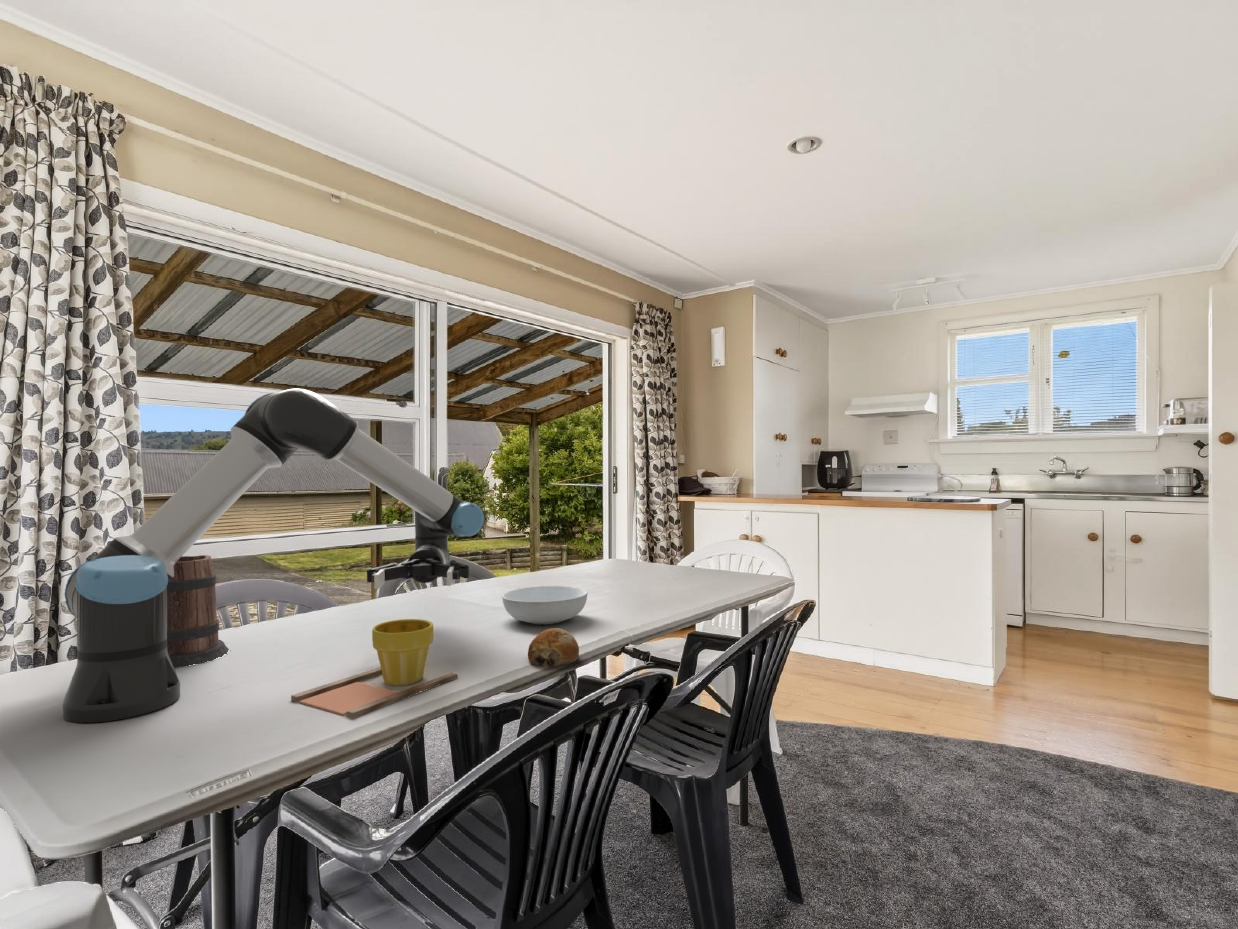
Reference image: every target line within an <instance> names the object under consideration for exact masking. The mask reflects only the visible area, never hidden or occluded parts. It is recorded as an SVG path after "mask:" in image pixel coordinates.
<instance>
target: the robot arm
mask: <svg viewBox="0 0 1238 929" xmlns="http://www.w3.org/2000/svg"><path fill="white" fill-rule="evenodd" d="M230 435H231V436H230V440H229V441H228V442H227V443H226V444H225V445H224V446H223V447H222V448H220V450H219V451H217V453H216V454H214V456H212V458H210V460H208V461H207V462H206V463H205V464H204V465H203V466H202V467H201V468H200V469H199V470H197V471H196V472H195V473H194V475H193V476H191V478H190V479H188V480H187V481H186V482H185V483H184V484H183V485H182V486H181V487H180V488H179V489H178V490H177V491H176V492H175V493H174V494H173V495H172V496H171V497H169V498H168V499H167V501H165V503H164V504H162V505H161V506H160V507H159V508H158V509H157V510H156V511H155V512H154V513H153V514H152V515H151V516H150V517H149V518H148V519H146V521H144V523H142V524H141V525H140V526H139V527H138V528H137V529H136V530H135V531H134V532H133V533H132V534H130V535H126V536H117V537H115V538H113V539H112V540H111V541H110V542H109V543H108V544H107V545H106V546H105V547H104V548H103V549H102V550H101V551H100V552H99V553H98V554H96V555H95V556H94V557H92V558H90V559H87V560H85V562H83V563H81V564H80V565H78V566H77V567H76V568H75V569H74V570H73V572H72V573H71V574H70V576H69V578H68V579H67V583H66V584H65V589H64V599H65V601H64V602H65V604H66V607H67V609H68V611H69V612H70V613H71V615H73V617H75V618H76V651H77V652H76V654H77V658H76V659H77V661H76V662H77V663H76V667H75V669H74V672H73V675H72V677H71V680H70V683H69V685H68V688H67V691H66V694H65V696H64V699H63V700H62V701H63V702H62V718H63V719H64V720H65V721H68V722H73V723H101V722H103V723H104V722H111V721H117V720H123V719H130V718H134V717H137V716H142V715H145V714H149V713H152V712H156V711H159V710H162V709H163V708H166V707H168V706H171V705H172V704H174V703H175V702H176V701H178V700H179V699H180V697H181V683H180V679H179V677H178V675H177V672H176V670H175V669H176V668H174V667H173V664H172V662H171V660H170V657H169V655H168V652H167V584H168V582H169V581H170V580H171V579H172V578H173V577H174V564H175V563H176V562H177V561H178V560H179V559H180V557H181V556H184V555H185V553H186V552H187V551H189V549H190V548H191V547H192V546H194V544H195V543H196V542H198V540H199V539H201V537H202V536H203V535H204V534H205V533H206V532H208V530H209V529H210V528H211V527H212V526H213V525H214V524H215V523H216V522H217V521H218V520H219V519H220V518H221V517H222V516H223V515H224V513H226V512H227V511H228V510H229V509H230V508H231V507H232V506H233V504H235V503H236V502H237V500H238V499H240V497H242V496H243V494H244V493H245V492H246V491H247V490H249V489H250V488H251V486H252V485H253V484H254V483H255V482H256V481H257V480H258V479H259V478H260V477H261V476H262V475H263V474H264V473H265V472H266V471H267V470H268V469H271V468H272V469H273V468H281V467H282V466H283V465H284V464H285V463H286V462H287V461H288V460H289V459H290V458H291V457H292V456H293V455H294V454H295V453H296V452H297V451H298V450H299V449H302V450H304V451H305V450H306V451H309V452H311V453H314V454H315V455H318V456H319V457H321V458H323V459H324V460H325V461H335V460H336V461H337V462H339V463H340V464H342V465H343V466H345V467H346V468H347V469H349V470H351V471H353V473H356V474H358V476H360V477H362V478H363V479H365V480H367V481H368V482H369V483H372V484H373V485H375V486H376V487H377V488H379V489H380V490H383V491H384V492H386V493H387V494H389V495H390V496H392V497H393V498H395V499H397V500H398V501H400V502H401V503H403V504H405V505H406V506H407V507H409V508H410V509H411V510H414V533H415V538H414V540H415V541H414V543H415V546H414V548H415V549H414V550H415V551H414V552H413V553H412V554H411V555H410V556H409V558H408V560H407V561H405V562H401V564H400V565H398V563H397V562H395V561H393V562H391V563H389V564H385V565H382V566H381V565H380V566H377V567H376V566H375V567H372V568H368V569H366V583H373V585H374V586H373V588H374V590H379V589H381V587H382V586H383V585H384V584H385V582H386V581H387V582H388V581H391V580H392V581H393V580H397V579H402V580H409V579H413V580H414V581H415V582H417V583H421V584H429V583H431V582H433V581H435V580H437V579H438V578H446V586H447V587H450V586H451V587H452V585H453V583H454V580H459V579H461V578H463V579H469V578H470V566H469V565H467V564H464V563H461V562H458V561H456V560H453V559H452V560H450V550H449V543H448V542H449V541H448V540H449V538H448V536H449V535H450V536H456V537H457V536H458V537H460V538H462V537H472V536H475V535H476V534H478V533H479V532H480V531H481V530H482V528H483V526H484V522H485V516H484V512H483V510H482V508H481V507H480V506H479V505H478V504H476V503H472V502H470V501H463V500H462V499H461V498H459V497H458V496H456V495H455V494H453V493H452V492H450V491H449V490H447V489H446V488H445V487H443V486H441V485H440V484H439V483H437V482H436V481H434V480H433V479H432V478H430V477H428V475H425V474H424V473H423V472H421V471H420V470H419V469H417V468H416V467H414V466H413V465H412V464H410V463H409V462H407V461H406V460H404V459H403V458H401V457H400V456H398V455H397V454H396V453H394V452H393V451H392V450H390V449H389V448H387V447H386V446H384V445H383V444H382V443H380V442H379V441H377V440H375V439H374V438H373V437H371V436H370V435H368V434H367V433H366V432H364V431H363V430H361V429H360V428H359V422H358V421H357V420H356V419H355V418H353V417H351V416H350V415H349V414H347V413H346V412H344V411H343V410H341V409H340V408H339V407H338V406H336V405H335V404H334V403H332V402H330V401H329V400H327V399H326V398H325V397H323V396H321V395H320V394H318V393H315V392H313V391H311V390H308V389H304V388H290V389H289V388H288V389H285V390H283V391H277V392H269V393H266V394H264V395H262V396H260V397H257V398H256V399H254V401H253V402H251V403H250V405H249V406H248V407H247V408H246V410H245V412H244V415H243V416H242V417H241V418H240V419H238V421H237V422H236V423H235V424H234V425H233V426H232V427H230Z"/></svg>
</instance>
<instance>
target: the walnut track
mask: <svg viewBox="0 0 1238 929" xmlns="http://www.w3.org/2000/svg"><path fill="white" fill-rule="evenodd" d="M379 674H380V675H383V674H382V670H381V666H379V667H376V668H373V669H370V670H367V671H363V672H359V673H357V674H354V675H351V676H348V677H345V678H341V679H339V680H338V679H337V680H335V681H331V682H329V683H326V684H323V685H320V686H316V687H313V688H311V689H307V690H305V691H301V692H297V693H295V694H292V695H290V700H291V701H292V702H295V703H296V702H300V701H301V700H304V699H307V698H310V697H313V696H316V695H319V694H322V693H325V692H328V691H331V690H334V689H337V688H340V687H343V686H346V685H349V684H352V683H355V682H360V681H365V680H367V679H370V678H373V677H377V676H379ZM455 678H457V679H458V678H459V677H458V673H457V672H449V673H446V674H443V675H441V676H438V677H436V678H435V677H434V678H432V679H430V680H427V681H425V682H422V683H419V684H415V685H414V686H411V687H409V688H405V689H402V690H400V691H397V693H394V694H392V695H389V696H386V697H384V698H381V699H378V700H375V701H373V702H370V703H367V704H365V705H362V706H359V707H356V708H354V709H351V710H348V711H347V714H346V717H348V718H351V719H354V718H357V717H360V716H362V715H365V714H368V713H370V712H373V711H376V710H377V709H378V710H379V709H380V708H383V707H386V706H390V705H392V704H393V703H396V702H398V701H401V699H402V700H404V699H406V698H409V697H408V696H410V697H412V696H414V694H415V695H417V694H416V693H418V694H419V692H420V691H423V692H425V691H427V690H426V689H428V690H430V689H429V688H431V689H433V688H435V686H436V687H437V685H438V686H440V685H439V684H441V685H444V684H446V683H448V682H447V681H449V682H451V681H453V679H454V680H456V679H455ZM445 682H446V683H445ZM443 683H444V684H443ZM424 690H425V691H424ZM420 693H421V692H420ZM411 695H412V696H411ZM403 698H404V699H403Z"/></svg>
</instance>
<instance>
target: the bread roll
mask: <svg viewBox="0 0 1238 929" xmlns="http://www.w3.org/2000/svg"><path fill="white" fill-rule="evenodd" d="M527 650H528V651H527V659H528V661H529V663H531V664H532V665H536V666H539V667H543V668H545V667H549V668H551V667H561V666H567V665H570V664H572V663H575V662H576V661H577V660H578V659H579V658H580V657H579V656H580V654H579V653H580V647H579V643H578V641H577V640H576V639H575V637H574V636H573V635H572V634H571V633H570V632H568V631H567V630H565V629H562V628H559V627H555V628H554V627H553V628H551V627H550V628H548V629H545V630H543V631H541V632H540V633H538V634H537V635H536V636H535V637H534V638H533V639H532V640H531V641H530V644H529V645H528V649H527Z"/></svg>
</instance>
